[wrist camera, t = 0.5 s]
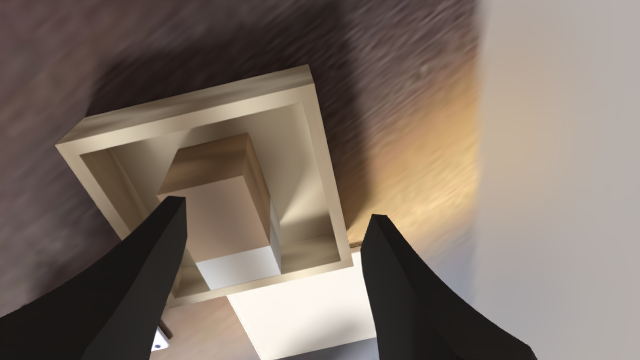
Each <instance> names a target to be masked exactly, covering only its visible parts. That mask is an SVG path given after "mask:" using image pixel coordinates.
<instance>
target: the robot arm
mask: <svg viewBox="0 0 640 360" xmlns="http://www.w3.org/2000/svg"><path fill="white" fill-rule="evenodd" d="M187 237H188V234H187V213H186V197H180V196H167V197H166V198H165V199H164V200H163V201H162V202H161V203H160V204H159V205H158V206H157V208H156V209H155V210H154V211H153V212H152V213H151V214H150V215H149V216H148V217H147V218H146V219H145V220H144V221H143V222H142V223H141V224H140V225H139V226H138V227H137V228H136V229H134V230H133V231H132V232H131V233H130V234H129V235H128V236H127V237H126V238H125V239H123V240H122V241H121V242H120V243H119V244H118V245H116V246H115V247H114V248H113V249H112V250H111V251H109V252H108V253H107V254H106V255H104V256H103V257H102V258H100V259H99V260H98V261H96V262H95V263H94V264H92V265H91V266H90V267H88V268H87V269H85V270H84V271H82V272H81V273H79V274H78V275H76V276H75V277H73V278H72V279H70V280H69V281H67V282H66V283H64V284H63V285H61V286H59V287H58V288H56V289H54V290H53V291H51V292H49V293H47V294H46V295H44V296H42V297H40V298H38V299H37V300H35V301H33V302H31V303H29V304H27V305H25V306H23V307H21V308H20V309H18V310H16V311H13V312H11V313H9V314H7V315H5V316H3V317H1V318H0V360H149V358H150V354H151V351H154V350H158V349H163V348H166V347H168V346H169V343H170V341H169V339H168V338H167V337H166V336H165V334H164V333H163V332H162V330H161V329H160V328H159V326H158V324H159V321H160V318H161V315H162V312H163V310H164V307H165V304H166V302H167V299H168V296H169V294H170V291H171V288H172V286H173V283H174V281H175V278H176V275H177V273H178V270H179V267H180V265H181V262H182V258H183V254H184V250H185V246H186V242H187ZM360 254H361V265H362V273H363V278H364V282H365V286H366V291H367V295H368V299H369V303H370V308H371V312H372V316H373V320H374V325H375V330H376V336H377V343H378V351H379V359H380V360H537V358H536V356H535V354H534V353H533V351H532V350H531V348H530V346H528V345H527V344H525V343H523V342H522V341H520V340H519V339H517V338H515V337H513V336H512V335H511V334H509V333H507V332H506V331H504V330H503V329H501V328H500V327H498V326H497V325H496V324H494V323H493V322H491V321H490V320H488V319H487V318H486V317H484V316H483V315H482V314H480V313H479V312H478V311H476V310H475V309H474V308H473V307H471V306H470V305H469V304H468V303H466V302H465V301H464V300H463V299H462V298H460V297H459V296H458V295H457V294H456V293H455V292H453V291H452V290H451V289H450V288H449V287H448V286H447V285H446V284H445V283H444V282H443V281H442V280H441V279H440V278H439V277H438V276H437V275H436V274H435V273H434V272H433V271H432V270H431V269H430V268H429V267H428V266H427V265H426V263H425V262H424V261H423V260H422V259H421V258H420V257H419V255H418V254H417V253H416V252H415V251H414V250H413V248H412V247H411V246H410V245H409V243H408V242H407V241H406V240H405V238H404V237H403V236H402V234H401V233H400V232H399V231H398V229H397V228H396V227H395V225H394V224H393V223H392V221H391V220H390V219H389V218H388V216H387V215H378V214H372V216H371V219H370V222H369V225H368V228H367V231H366V234H365V237H364V240H363V242H362V245H361V248H360Z"/></svg>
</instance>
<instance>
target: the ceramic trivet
mask: <svg viewBox="0 0 640 360" xmlns="http://www.w3.org/2000/svg"><path fill="white" fill-rule="evenodd" d="M360 248H361V246H358V247H354V248H350V250H351V255H352V260H353V264H354V266H353V267H348V268H344V269H339V270H335V271H331V272H326V273H322V274H318V275H313V276H309V277H304V278H300V279H296V280H291V281H287V282H283V283H278V284H274V285H269V286H265V287H261V288H256V289H252V290H247V291H243V292H239V293H234V294H230V295H226V296H227V297H228V299H229V301H230V303H231V305H232V307H233V309H234V310H235V312H236V314H237V316H238V318H239V320H240V322H241V323H242V325H243V327H244V329H245V331H246V333H247V334H248V336H249V338H250V340H251V342H252V344H253V346H254V347H255V349H256V351H257V353H258V355H259V357H260V359H261V360H275V359H280V358H284V357H289V356H293V355H298V354H302V353H307V352H311V351H315V350H320V349H324V348H329V347H333V346H338V345H342V344H347V343H351V342H356V341H360V340H364V339H369V338H373V337H377V336H376V330H375V325H374V320H373V316H372V312H371V308H370V303H369V299H368V295H367V291H366V286H365V282H364V278H363V273H362V265H361V254H360Z"/></svg>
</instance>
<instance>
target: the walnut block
mask: <svg viewBox="0 0 640 360" xmlns="http://www.w3.org/2000/svg"><path fill="white" fill-rule="evenodd" d="M167 196H180V197H186V213H187V234H188V237H187V242H186V248H187V250H188V251H189V253H190V255H191V257H192V258H193V260H194V262H195V264H196V265H197V267H198V269H199V271H200V272H201V274H202V276H203V278H204V279H205V281H206V283H207V285H208V286H209V288H210V290H215V289H219V288H224V287H228V286H232V285H237V284H241V283H246V282H250V281H254V280H259V279H263V278H267V277H272V276H276V275H281V247H280V222H279V219H278V216H277V213H276V210H275V207H274V205H273V202H272V199H271V196H270V193H269V190H268V187H267V185H266V182H265V179H264V176H263V173H262V170H261V167H260V165H259V162H258V159H257V156H256V153H255V150H254V147H253V145H252V142H251V139H250V136H249V133H244V134H239V135H235V136H231V137H227V138H223V139H218V140H214V141H210V142H206V143H201V144H197V145H193V146H189V147H185V148H180V149H178V150H177V152H176V154H175V157H174V159H173V161H172V163H171V165H170V168H169V170H168V172H167V174H166V176H165V179H164V181H163V183H162V185H161V187H160V190H159V192H158V194H157V197H158V199H159V200H160V202H162V201H163V200H164V199H165V198H166V197H167Z"/></svg>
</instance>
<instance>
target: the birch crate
mask: <svg viewBox="0 0 640 360" xmlns="http://www.w3.org/2000/svg"><path fill="white" fill-rule="evenodd" d="M244 133H249V136H250V139H251V142H252V145H253V147H254V150H255V153H256V156H257V159H258V162H259V165H260V167H261V170H262V173H263V176H264V179H265V182H266V185H267V187H268V190H269V193H270V196H271V199H272V202H273V205H274V207H275V210H276V213H277V216H278V219H279V222H280V247H281V275H276V276H272V277H267V278H263V279H259V280H254V281H250V282H246V283H241V284H237V285H232V286H228V287H224V288H219V289H215V290H210V288H209V286H208V285H207V283H206V281H205V279H204V278H203V276H202V274H201V272H200V271H199V269H198V267H197V265H196V264H195V262H194V260H193V258H192V257H191V255H190V253H189V251H188V250H187V248H186V246H185V250H184V254H183V258H182V262H181V265H180V267H179V270H178V273H177V275H176V278H175V281H174V283H173V286H172V288H171V291H170V294H169V296H168V299H167V302H166V305H167V306H168V308H173V307H177V306H182V305H186V304H191V303H195V302H199V301H204V300H208V299H212V298H217V297H221V296H226V295H230V294H234V293H239V292H243V291H247V290H252V289H256V288H261V287H265V286H269V285H274V284H278V283H283V282H287V281H291V280H296V279H300V278H304V277H309V276H313V275H318V274H322V273H326V272H331V271H335V270H339V269H344V268H348V267H353V266H354V264H353V260H352V255H351V250H350V246H349V241H348V237H347V232H346V228H345V223H344V218H343V214H342V209H341V205H340V200H339V195H338V191H337V186H336V182H335V177H334V172H333V168H332V163H331V159H330V154H329V150H328V145H327V140H326V136H325V131H324V127H323V122H322V117H321V113H320V108H319V104H318V99H317V94H316V90H315V85H314V81H313V78H312V75H311V71H310V68H309V65H308V64H306V65H302V66H298V67H294V68H290V69H285V70H281V71H277V72H273V73H269V74H265V75H260V76H256V77H252V78H248V79H244V80H240V81H235V82H231V83H227V84H223V85H219V86H215V87H210V88H206V89H202V90H198V91H194V92H189V93H185V94H181V95H177V96H173V97H169V98H164V99H160V100H156V101H152V102H148V103H144V104H139V105H135V106H131V107H127V108H123V109H119V110H114V111H110V112H106V113H102V114H98V115H93V116H89V117H85V118H83V119H82V120H81V121H80V122H79V123H78V124H77V125H76V126H75V127H74V128H73V129H72V130H70V131H69V132H68V133H67V134H66V135H65V136H64V137H63V138H62V139H61V140H60V141H59V142H58V143H57V144H55V146H56V148H57V149H58V150H59V152H60V153H61V155H62V156H63V158H64V159H65V160H66V162H67V163H68V165H69V166H70V168H71V169H72V170H73V172H74V173H75V175H76V176H77V178H78V179H79V180H80V182H81V183H82V185H83V186H84V188H85V189H86V190H87V192H88V193H89V195H90V196H91V198H92V199H93V200H94V202H95V203H96V205H97V206H98V208H99V209H100V210H101V212H102V213H103V215H104V216H105V218H106V219H107V220H108V222H109V223H110V225H111V226H112V228H113V229H114V230H115V232H116V233H117V235H118V236H119V238H120V239H121V240H123V239H125V238H126V237H127V236H128V235H129V234H130V233H131V232H132V231H133V230H134V229H136V228H137V227H138V226H139V225H140V224H141V223H142V222H143V221H144V220H145V219H146V218H147V217H148V216H149V215H150V214H151V213H152V212H153V211H154V210H155V209H156V208H157V206H158V205H159V204H160V203H161V202H160V200H159V199H158V197H157V194H158V192H159V190H160V187H161V185H162V183H163V181H164V179H165V176H166V174H167V172H168V170H169V168H170V165H171V163H172V161H173V159H174V157H175V154H176V152H177V150H178V149H180V148H185V147H189V146H193V145H197V144H201V143H206V142H210V141H214V140H218V139H223V138H227V137H231V136H235V135H239V134H244Z"/></svg>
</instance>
